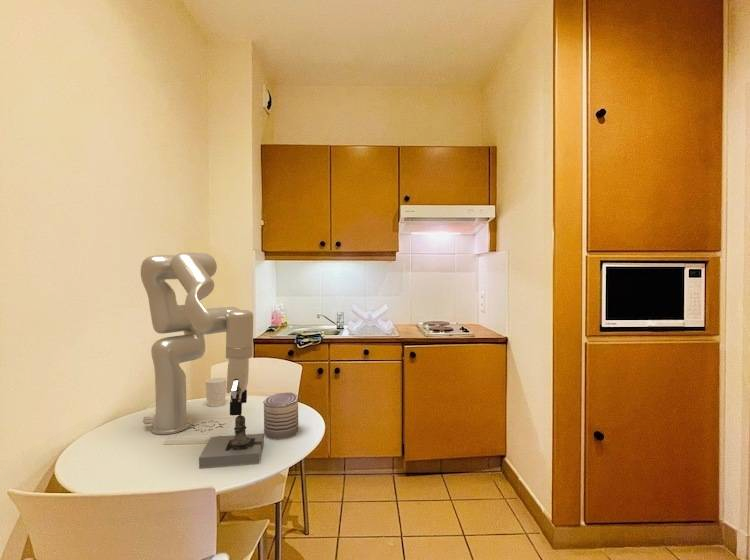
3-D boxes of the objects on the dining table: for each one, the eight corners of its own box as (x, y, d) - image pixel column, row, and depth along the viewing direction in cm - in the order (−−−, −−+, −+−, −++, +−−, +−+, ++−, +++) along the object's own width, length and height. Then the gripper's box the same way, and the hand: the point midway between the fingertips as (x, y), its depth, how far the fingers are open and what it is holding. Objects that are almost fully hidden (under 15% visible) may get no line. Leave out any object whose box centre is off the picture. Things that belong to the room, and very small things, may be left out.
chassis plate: (199, 468, 112) (199, 457, 112) (211, 446, 125) (210, 436, 125) (258, 463, 114) (258, 453, 114) (264, 442, 128) (263, 433, 128)
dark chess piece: (230, 458, 116) (230, 417, 116) (229, 450, 122) (228, 411, 122) (251, 454, 119) (251, 414, 118) (249, 446, 124) (249, 408, 124)
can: (305, 432, 137) (305, 396, 136) (277, 443, 128) (277, 405, 128) (284, 423, 144) (284, 390, 144) (257, 433, 135) (256, 398, 135)
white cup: (230, 404, 165) (229, 379, 165) (211, 408, 159) (210, 383, 159) (221, 399, 170) (220, 376, 170) (202, 404, 165) (202, 379, 164)
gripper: (231, 345, 127) (230, 399, 128) (219, 359, 110) (219, 420, 111) (256, 345, 129) (255, 398, 129) (248, 359, 112) (247, 419, 112)
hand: (238, 408), depth 120 cm, fingers open, 9 cm apart
